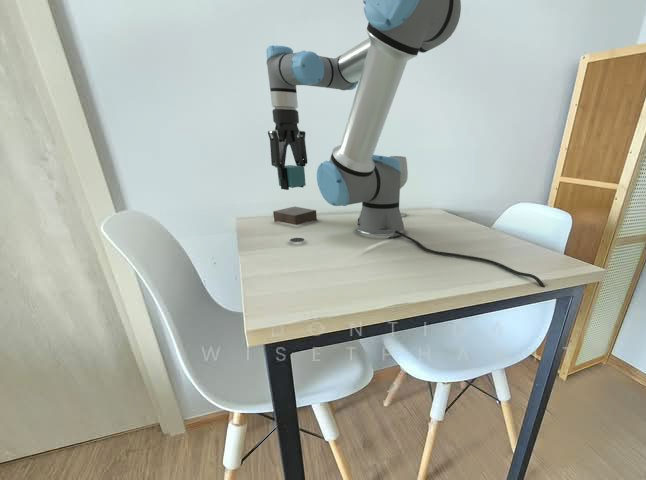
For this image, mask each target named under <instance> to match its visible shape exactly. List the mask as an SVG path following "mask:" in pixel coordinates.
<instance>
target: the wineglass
mask: <svg viewBox="0 0 646 480" xmlns="http://www.w3.org/2000/svg"><path fill="white" fill-rule="evenodd" d="M389 157H393V158H397V159H398V160H399V161H400V171H401V175H400V190H401V189H402V188H403V187H405V185H406V183H407V181H408V177H409V174H408V173H409V172H408V161H407V157H406V156H401V155H390V156H389ZM400 213H401V217H402V218H403V217H406V214H405V213H404V212H400Z"/></svg>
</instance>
